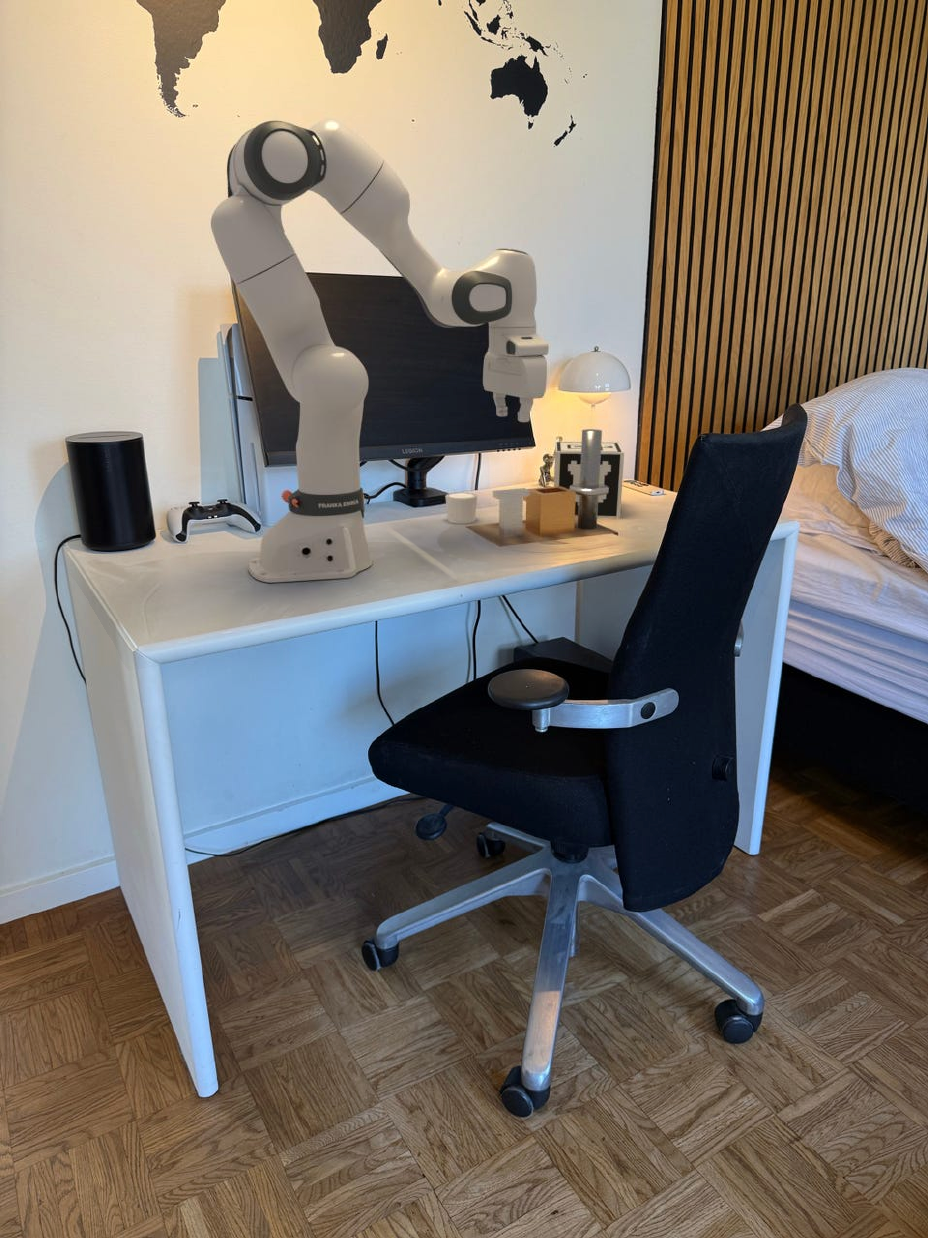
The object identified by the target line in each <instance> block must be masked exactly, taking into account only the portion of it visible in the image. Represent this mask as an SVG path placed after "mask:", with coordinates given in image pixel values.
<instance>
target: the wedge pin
mask: <svg viewBox="0 0 928 1238" xmlns="http://www.w3.org/2000/svg"><path fill="white" fill-rule="evenodd" d="M528 489H529V488H525V487H523V488H510V489H509V488H508V489H501V490H493V491H492V497H493V498H495V500H498V501H499V503H498V508H499V509H498V512H499V513H498V514H499V515H498V516H499V517H498V523H499V535H500V536H501V537H503V538H508V537H517V536H522V521H523V511H524V509H523V507H524V505H523V502H524V500H523V497H527V496H530V490H528Z"/></svg>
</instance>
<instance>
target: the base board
mask: <svg viewBox="0 0 928 1238" xmlns="http://www.w3.org/2000/svg"><path fill="white" fill-rule="evenodd" d="M525 525H526V519H524V520H523V519H522V536H517V537H508V538H503V537H501V536H500V535H499V522H496V523H487V524H485V523H484V524H478V525H477V524H476V525H467V526H465V528H467V529H468V530H470V531H472V532H474V533H475V534H477V535H478V536H481V537H482V538H484V539H486V540H488V541H489V542H491V543H492V544H494V545H496V546H498V547H507V546H508V547H509V546H514V545H515V546H516V545H523V544H532V543H540V542H541V543H542V542H549V541H558V540H565V539H566V540H567V539H575V538H584V537H585V538H586V537H593V536H602V535H610V534H611V535H612V534H613V535H615V536H617V537H618V536H619V532H618V531H616V530H614V529H611V528H609V527H607V526H604V525H602V524H599V523H597V528H595V529H581V528H578V515H575V521H574V533H568V534H559V535H551V536H542V537H539V536H537V535H535V534H533V533H531V532H529V531H527V530H525Z"/></svg>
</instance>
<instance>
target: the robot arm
mask: <svg viewBox="0 0 928 1238" xmlns="http://www.w3.org/2000/svg"><path fill="white" fill-rule="evenodd" d="M242 134H243V135H241V136H240V137H239V139H238V140H237V142H236V143H235V144H234V145H233V146H232V148H231V150H230V152H229V154H228V156H227V157H228V158H227V162H226V175H227V177H226V178H227V179H226V181H227V198H226V199H224V200H222V202H220V203H219V204H218V206H217V207H216V208H214V209H215V210H214V211H213V213H212V214H211V218H210V228H211V233H212V235H213V237H214V240H215V243H216V246H217V249H218V251H219V253H220V256H221V258H222V261H223V263H224V265H225V267H226V270H227V271H228V274H229V275H230V277H231V279H232V281H233V283H234V284H235V285H234V286H235V287H236V289H237V291H238V293H239V294H240V296H241V297H242V299H243V301H244V303H245V305H246V307H247V308H248V310H249V312H250V313H251V315H252V317H253V319H254V321H255V323H256V325H257V327H258V328H259V329H258V330H260V333H261V335H262V337H263V340H264V342H265V344H266V346H267V349H268V351H269V353H270V355H271V359H272V360H273V363H274V365H275V367H276V369H277V371H278V373H279V375H280V377H281V380H282V381H283V384H284V385H285V387H286V389H287V391H288V393H289V394H290V396H291V397H292V398H293V399H294V400H295V401H297V402H298V403H299V424H298V434H297V441H296V443H295V453H296V455H295V456H296V468H297V469H296V470H297V471H296V472H297V482H298V484H297V485H298V489H297V490H295V491H294V492H292V491H291V490H288V489H287V490H283V491H282V493H281V499H282V500H283V501H284V503H287V504H288V511H289V512H287V513H286V514H285V515H284V516H283V517H281V518H280V519H279V520H278V521H277V522H276V523H274V524H273V525H272V526H271V527H269V528H268V529H267V530H266V531H265V532H264V533H263V535H262V538H261V543H260V549H259V557H255V558H252V559H251V560H250V561H249V562H248V572H249V574H250V575H251V576H252V577H253V578H254V579H256V580H258V581H261V582H264V583H268V584H269V583H285V582H287V583H288V582H299V581H300V582H302V581H316V580H320V581H321V580H332V579H333V580H334V579H348V578H352V577H354V576H356V574H358V572H361V571H364V570H366V569H368V568H369V567H370V566H372V564H373V562H374V561H373V559H372V555H371V553H370V549H369V546H368V542H367V541H368V540H367V536H366V531H365V525H364V517H365V495H364V488H362V487H361V470H360V469H361V468H360V436H361V430H362V421H363V412H364V402H365V398H366V396H367V394H368V392H369V376H368V372H367V370H366V368H365V366H364V365H363V363H362V362H361V361H360V359H359V358H358V357H357V356H356V355H355V354H354V353H353V352H351V351H350V350H348V349H346V348H344V347H342V346H337V345H336V344H335V343H334V341H333V339H332V338H331V335H330V331H329V329H328V326H327V323H326V321H325V317H324V315H323V312H322V309H321V308H322V307H321V303H320V302H321V301H320V298H319V297H318V295H317V293H316V290H315V288H314V287H313V284H312V283H311V280H310V279H309V278H310V277H309V276H308V275H307V273H306V271H305V269H304V266H303V264H302V263H301V261H300V258H299V257H298V255H297V253H296V251H295V249H294V247H293V246H292V245H293V244H292V243H291V241H290V240H289V238H288V237H287V235H286V231H285V228H284V225H283V222H282V221H283V220H282V208H283V206H284V205H286V204H289V203H290V202H292V201H294V200H296V199H297V198H298V197H301V196H302V195H305V193H306V192H308V191H310V192H313V193H315V194H318V195H319V196H320V197H321V198H322V199H325V200H326V202H328V203H329V205H330V206H331V207H332V208H333V209H334V210H335V211H336V212H337V213H338V214H339V215H340V216H341V217H342V218H343V219H344V220H345V221H346V222H347V223H348V224H349V225H350V226H351V227H353V228H354V229H355V230H356V231H357V232H358V233H359V234H360V235H361V236H363V237H364V238H366V240H368V242H370V243H371V244H372V246H374V247H375V248H376V249H377V250H378V251H379V252H380V253H381V254H382V255H383V256H384V258H386V260H387V261H388V262H389V263H390V264H391V265H392V266H393V267H394V269H395V270H396V271H397V272H398V273H399V274H400V276H401V277H402V278H403V279H404V280H405V281H406V282H407V283H408V284H409V285H410V286H411V287H412V289H413V290H414V292H415V293H416V294H417V296H418V299H419V301H420V303H421V304H420V305H421V307H422V308H423V311H424V313H425V314H426V316H427V318H428V319H429V320H430V321H431V322H432V323H433V324H435V325H437V326H438V327H442V328H447V329H449V328H451V329H452V328H457V327H478V326H481V325H485V324H487V323H488V349H487V352H486V353H485V355H484V360H483V370H482V372H483V373H482V385H483V389H484V390H485V391H487V392H492V393H493V394H492V398H493V401H494V404H495V407H496V409H495V411H496V416H498V417H507V416H508V413H509V412H508V406H506V399H505V398H506V396H511V397H516V398H519V403H520V408H519V411H518V412H517V421H519V422H520V423H529V422H530V418H531V417H530V416H531V415H530V413H531V411H532V407H533V405H534V399H542V398H544V396H545V394H546V391H547V378H548V375H547V374H548V365H547V363H548V362H547V359H546V357H545V356H546V355H548V354H549V349H550V348H549V343H548V342H547V341H546V340H545V339H544V338H542V337H541V336H540V334H539V333H537V320H536V318H535V317H536V316H535V309H536V305H537V301H538V300H537V299H538V298H537V297H538V296H537V293H538V292H537V273H536V267H535V261H534V259H533V257H532V256H531V255H530V254H528V253H527V252H524V251H523V250H522V251H521V250H519V249H513V248H510V249H509V248H498V249H494V250H492V252H491V254H489V255H488V256H487V257H486V258H484V259H483V260H481V261H480V262H478V263H476V264H474V265H472V266H470V267H467V268H466V269H461V270H453V269H449V268H446V267H445V266H442V265H441V264H440V263H439V262H437V260H436V259H435V258H434V257H433V256H432V255H431V254H430V252H429V251H428V249H426V247H425V246H424V245H423V244H422V243H421V242H420V241H419V240H418V238H417V237H416V236H415V235H414V234H413V233H412V230H411V228H410V225H409V220H408V219H409V215H410V210H411V208H410V207H411V203H410V202H411V201H410V193H409V191H408V189H407V188H406V186H405V185H404V183H403V182H402V180H401V178H400V177H399V176H398V174H397V173H396V171H394V169H393V168H392V167H391V166H390V165H389V164H388V162H386V160H385V159H383V158H382V156H381V155H380V154H379V153H378V152H377V151H376V150H375V149H374V148H373V147H371V146H370V144H369V143H367V142H366V141H365V140H364V139H362V137H360V136H359V135H358V134H357V133H355V132H354V131H353V130H351V129H350V128H349V127H348V126H346V125H345V124H344V123H342V122H341V121H339V120H337V119H334V118H326V119H323V120H320V121H318V122H317V123H315V124H313V126H311V127H310V128H309V129H308V128H304V127H301V126H298V125H295V124H292V123H290V122H286V121H282V120H268V121H264V122H262V123H259V124H258V125H256V126H255V127H252V128H250V129H249V130H247V131H245V132H244V133H242Z"/></svg>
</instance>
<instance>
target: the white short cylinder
mask: <svg viewBox="0 0 928 1238" xmlns="http://www.w3.org/2000/svg"><path fill="white" fill-rule="evenodd" d="M477 502H478V495H477V494H475V493H470V492H453V493H448V494H446V495H445V505H446V506H445V507H446V514H447V515H446V516H447V522H449V523H452V524H457V525H459V524H464V525H465V524H472V523H475V521H476V515H477V511H476V510H477V504H478V503H477Z"/></svg>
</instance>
